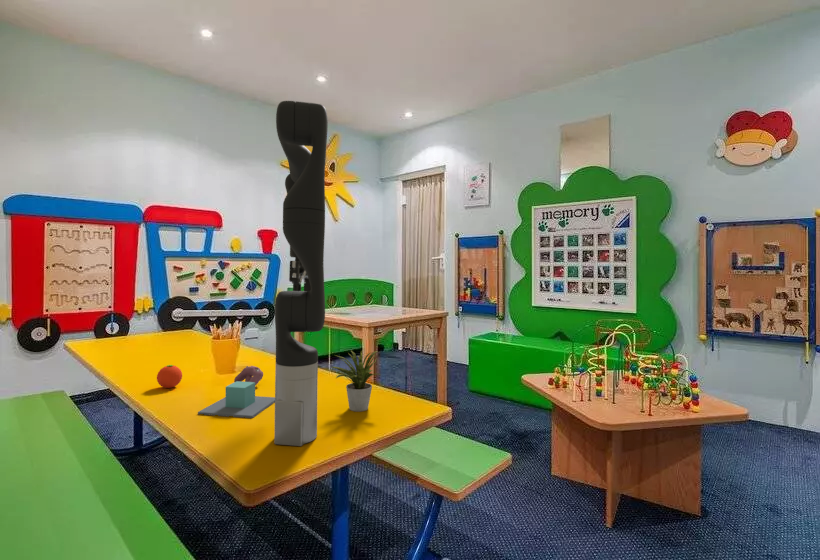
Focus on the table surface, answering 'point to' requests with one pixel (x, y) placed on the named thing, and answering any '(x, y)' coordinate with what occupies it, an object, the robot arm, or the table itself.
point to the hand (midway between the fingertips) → (302, 295)
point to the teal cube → (240, 394)
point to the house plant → (358, 382)
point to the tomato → (169, 376)
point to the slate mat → (247, 412)
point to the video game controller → (250, 375)
